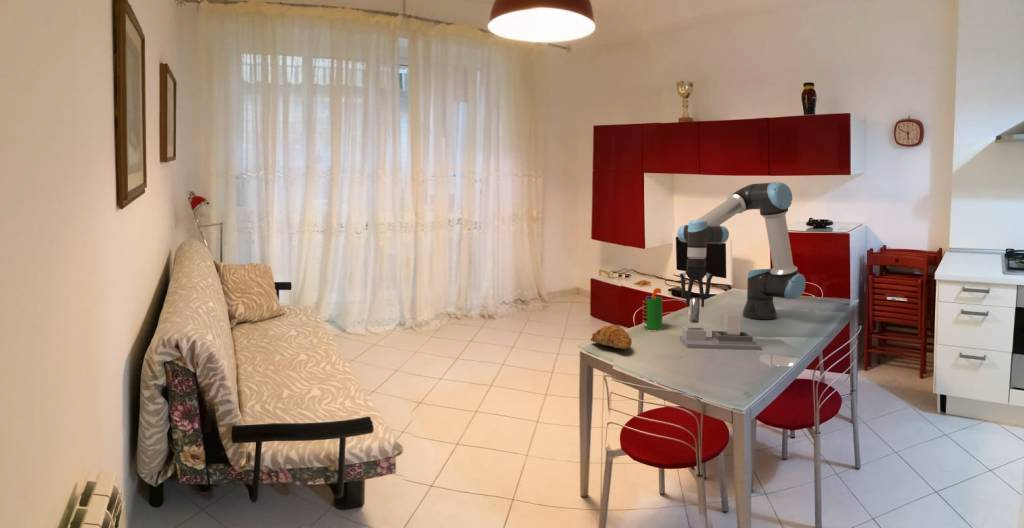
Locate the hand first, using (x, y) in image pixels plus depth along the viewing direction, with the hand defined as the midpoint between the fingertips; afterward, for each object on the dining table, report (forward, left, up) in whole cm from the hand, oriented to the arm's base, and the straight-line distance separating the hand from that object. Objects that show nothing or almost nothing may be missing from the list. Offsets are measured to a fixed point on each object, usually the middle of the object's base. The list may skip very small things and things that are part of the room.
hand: (694, 314), depth 258 cm
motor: (+14, -21, -12) cm, 28 cm away
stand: (-9, +4, -11) cm, 15 cm away
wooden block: (-14, +4, -9) cm, 17 cm away
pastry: (+34, +11, -12) cm, 37 cm away
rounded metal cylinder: (0, 0, -3) cm, 3 cm away
